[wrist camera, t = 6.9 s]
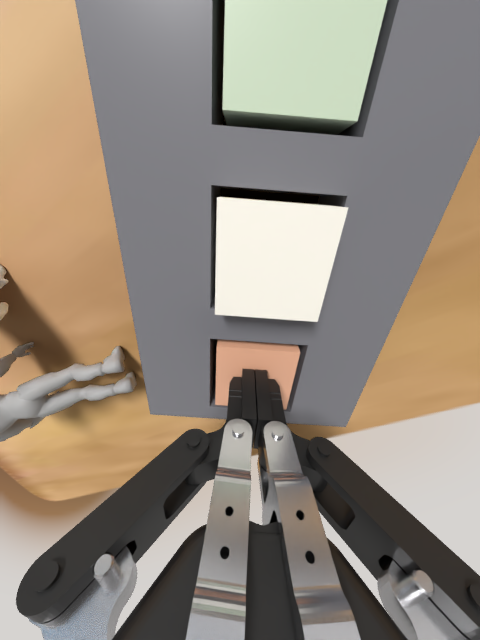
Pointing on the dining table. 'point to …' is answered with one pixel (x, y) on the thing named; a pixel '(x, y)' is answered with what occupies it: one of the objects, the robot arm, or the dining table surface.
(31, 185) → the dining table surface
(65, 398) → the grey human figurine
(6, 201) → the dining table surface
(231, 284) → the cream button
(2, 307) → the bull figurine
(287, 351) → the terracotta button
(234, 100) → the sage button
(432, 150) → the button panel
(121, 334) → the dining table surface
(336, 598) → the robot arm
